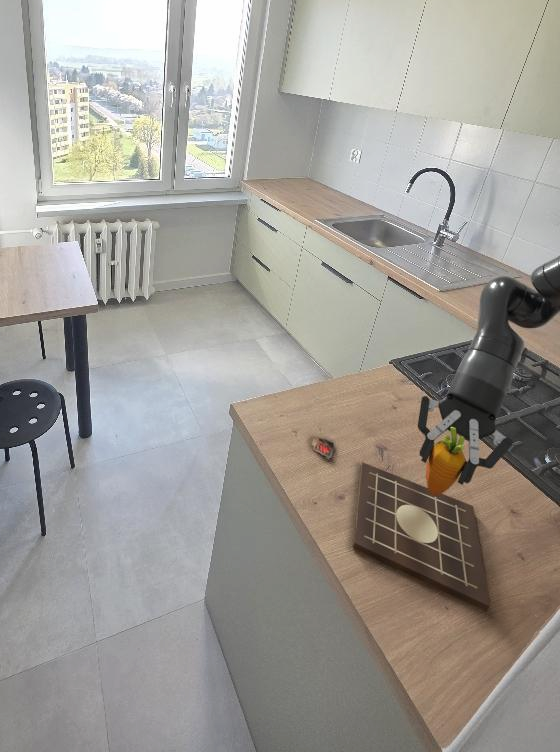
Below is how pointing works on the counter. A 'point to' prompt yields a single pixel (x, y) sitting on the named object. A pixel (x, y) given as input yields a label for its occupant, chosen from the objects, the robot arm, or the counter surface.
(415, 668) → the counter surface
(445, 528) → the game board
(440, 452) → the carrot
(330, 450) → the matchbox
